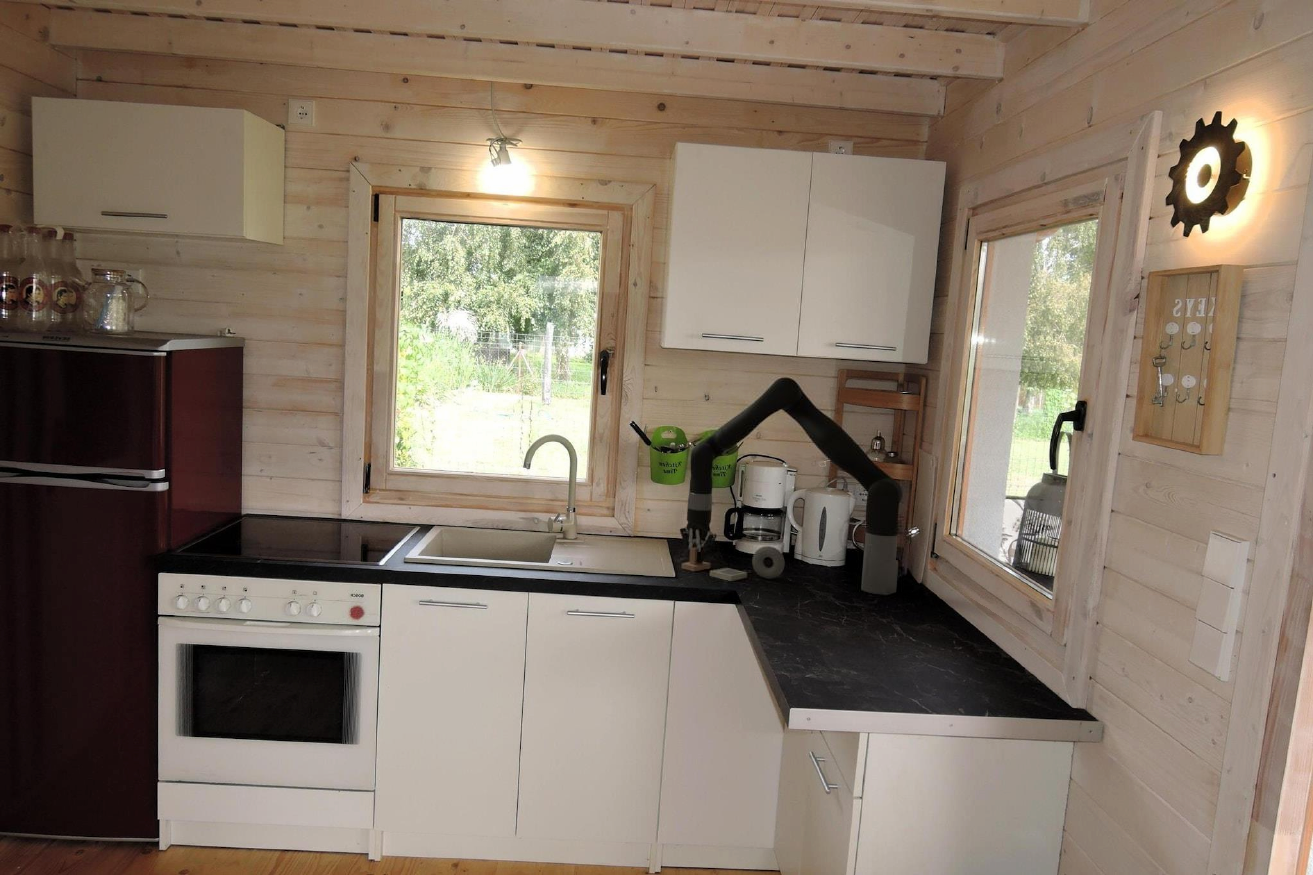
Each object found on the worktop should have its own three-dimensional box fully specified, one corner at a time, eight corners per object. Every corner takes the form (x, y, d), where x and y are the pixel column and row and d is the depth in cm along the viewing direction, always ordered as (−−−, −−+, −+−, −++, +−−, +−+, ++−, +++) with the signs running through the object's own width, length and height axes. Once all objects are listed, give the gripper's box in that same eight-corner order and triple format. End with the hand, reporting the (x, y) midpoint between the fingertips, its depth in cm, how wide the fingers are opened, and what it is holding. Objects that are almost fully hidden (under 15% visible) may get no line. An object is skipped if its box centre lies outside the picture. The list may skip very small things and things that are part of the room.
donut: (749, 577, 281) (751, 544, 280) (752, 575, 284) (755, 543, 284) (781, 582, 277) (784, 549, 277) (784, 579, 281) (787, 547, 280)
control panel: (746, 577, 281) (747, 572, 281) (730, 581, 275) (730, 575, 275) (725, 572, 286) (726, 567, 286) (709, 575, 280) (709, 570, 280)
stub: (710, 568, 290) (711, 547, 290) (693, 571, 284) (695, 550, 284) (697, 565, 293) (699, 544, 293) (681, 568, 287) (682, 547, 287)
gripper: (724, 509, 285) (721, 564, 287) (690, 503, 295) (687, 556, 296) (709, 511, 280) (705, 567, 281) (674, 504, 289) (671, 559, 290)
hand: (696, 561), depth 289 cm, fingers closed on stub, 2 cm apart
